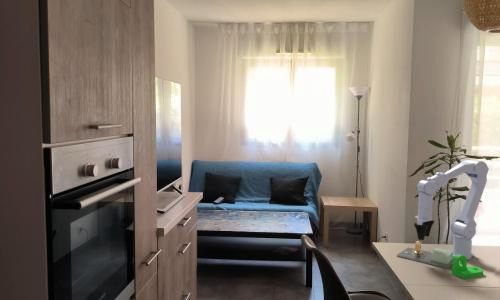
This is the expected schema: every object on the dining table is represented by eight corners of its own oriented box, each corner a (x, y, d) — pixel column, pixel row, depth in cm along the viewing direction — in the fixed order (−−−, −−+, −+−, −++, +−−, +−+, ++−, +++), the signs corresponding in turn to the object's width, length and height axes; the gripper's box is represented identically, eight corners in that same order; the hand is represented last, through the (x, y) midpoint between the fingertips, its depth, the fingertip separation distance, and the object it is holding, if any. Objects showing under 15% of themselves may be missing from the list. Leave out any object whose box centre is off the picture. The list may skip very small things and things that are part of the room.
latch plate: (407, 249, 207) (408, 246, 207) (456, 259, 194) (457, 256, 194) (396, 257, 196) (396, 254, 195) (448, 268, 182) (448, 265, 182)
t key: (414, 254, 196) (414, 244, 195) (415, 250, 202) (416, 240, 201) (419, 255, 195) (420, 245, 194) (421, 251, 201) (421, 241, 200)
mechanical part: (464, 279, 171) (465, 259, 170) (451, 274, 176) (453, 254, 176) (486, 275, 176) (487, 256, 175) (473, 270, 181) (474, 251, 180)
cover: (436, 255, 196) (436, 247, 195) (452, 258, 191) (453, 250, 191) (430, 260, 189) (430, 252, 188) (447, 264, 184) (448, 255, 184)
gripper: (420, 204, 201) (419, 233, 202) (410, 208, 190) (409, 239, 191) (436, 206, 197) (435, 235, 198) (427, 211, 186) (425, 242, 187)
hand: (423, 237), depth 194 cm, fingers open, 7 cm apart
